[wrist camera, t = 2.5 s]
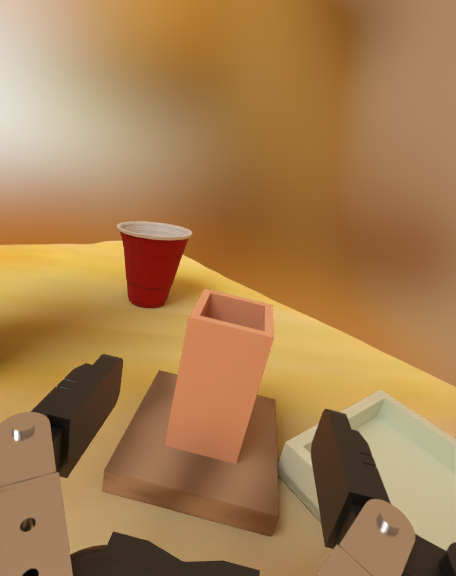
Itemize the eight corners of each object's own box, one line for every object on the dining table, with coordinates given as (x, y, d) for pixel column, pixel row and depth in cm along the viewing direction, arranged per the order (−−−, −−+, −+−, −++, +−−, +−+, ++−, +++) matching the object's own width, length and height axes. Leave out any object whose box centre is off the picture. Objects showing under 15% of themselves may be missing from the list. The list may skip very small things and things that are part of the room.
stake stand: (102, 491, 23) (112, 398, 20) (156, 386, 34) (168, 317, 32) (271, 536, 23) (305, 448, 20) (270, 415, 34) (291, 348, 31)
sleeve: (164, 445, 25) (188, 316, 21) (184, 392, 31) (206, 284, 28) (236, 464, 25) (273, 337, 21) (242, 406, 31) (272, 301, 27)
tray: (274, 471, 28) (285, 441, 26) (370, 413, 38) (380, 389, 37) (501, 722, 17) (536, 689, 15) (548, 543, 27) (572, 515, 26)
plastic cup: (132, 281, 59) (140, 213, 55) (189, 298, 57) (201, 230, 53) (94, 301, 49) (101, 220, 44) (162, 323, 47) (175, 241, 43)
